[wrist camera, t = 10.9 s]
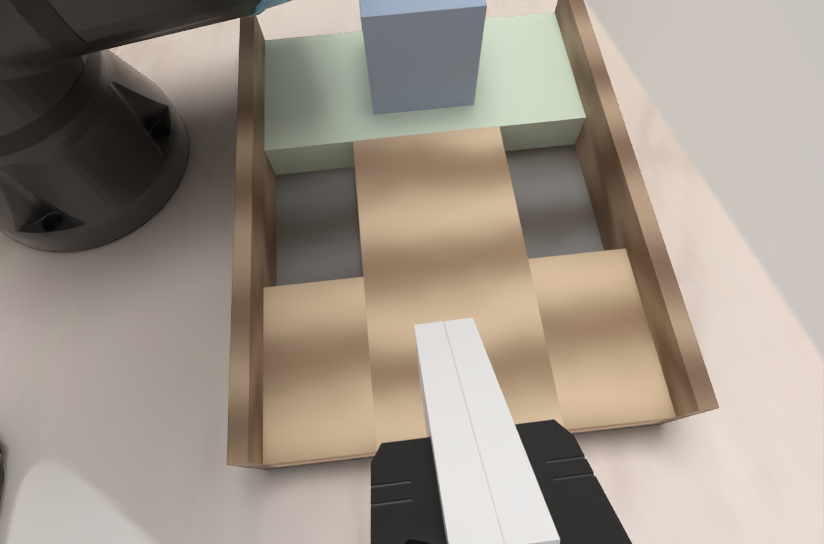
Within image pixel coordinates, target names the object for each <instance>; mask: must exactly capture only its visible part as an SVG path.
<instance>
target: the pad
mask: <svg viewBox="0 0 824 544" xmlns="http://www.w3.org/2000/svg"><path fill="white" fill-rule="evenodd" d="M585 119H586V115H585V112H584V109H583V105H582V102H581V99H580V95H579V92H578V89H577V85H576V82H575V79H574V75H573V72H572V69H571V65H570V62H569V59H568V55H567V52H566V49H565V45H564V42H563V39H562V35H561V32H560V29H559V25H558V22H557V19H556V15H555V12H553V13H543V14H533V15H523V16H512V17H502V18H492V19H485V24H484V31H483V39H482V47H481V54H480V62H479V70H478V77H477V85H476V93H475V100H474V105H468V106H458V107H448V108H438V109H428V110H417V111H407V112H397V113H387V114H377V115H374V113H373V105H372V98H371V90H370V83H369V75H368V68H367V60H366V53H365V45H364V38H363V31H358V32H348V33H338V34H327V35H317V36H307V37H297V38H286V39H276V40H266V41H265V122H264V151H265V153H266V155H267V157H268V159H269V161H270V163H271V166H272V168H273V170H274V172H275V174H276V175H281V174H291V173H300V172H310V171H320V170H329V169H339V168H349V167H355V161H354V148H353V141H357V140H367V139H376V138H386V137H396V136H406V135H416V134H425V133H435V132H445V131H455V130H465V129H474V128H484V127H494V126H499V127H500V131H501V136H502V141H503V145H504V150H505V151H513V150H523V149H533V148H542V147H552V146H562V145H571V144H575V142H576V140H577V137H578V135H579V133H580V130H581V128H582V126H583V124H584V121H585Z"/></svg>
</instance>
